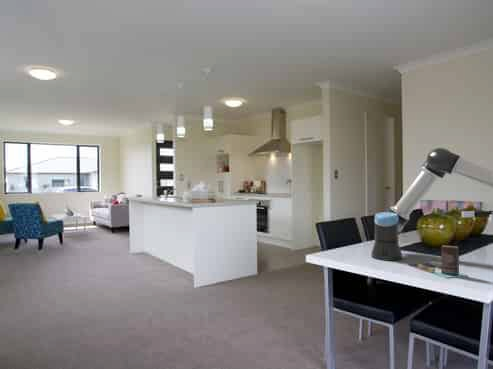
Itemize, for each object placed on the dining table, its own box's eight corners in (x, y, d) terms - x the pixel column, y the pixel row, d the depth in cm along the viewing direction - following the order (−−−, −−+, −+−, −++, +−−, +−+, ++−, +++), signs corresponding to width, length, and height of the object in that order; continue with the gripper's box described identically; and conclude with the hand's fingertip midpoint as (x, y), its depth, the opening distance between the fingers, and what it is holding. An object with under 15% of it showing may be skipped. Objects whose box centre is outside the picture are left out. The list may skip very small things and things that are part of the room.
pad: (432, 273, 150) (432, 272, 150) (453, 271, 153) (453, 270, 153) (446, 278, 143) (446, 277, 143) (467, 276, 146) (467, 275, 146)
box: (459, 274, 148) (459, 246, 148) (456, 276, 145) (456, 248, 144) (443, 271, 152) (443, 244, 152) (440, 273, 149) (440, 246, 149)
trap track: (408, 265, 165) (408, 261, 165) (427, 263, 168) (427, 259, 168) (432, 273, 150) (432, 269, 150) (453, 271, 153) (453, 267, 153)
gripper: (542, 226, 144) (503, 228, 139) (487, 219, 168) (452, 221, 163) (542, 209, 144) (503, 210, 139) (487, 204, 168) (452, 205, 163)
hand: (475, 216), depth 151 cm, fingers open, 13 cm apart
